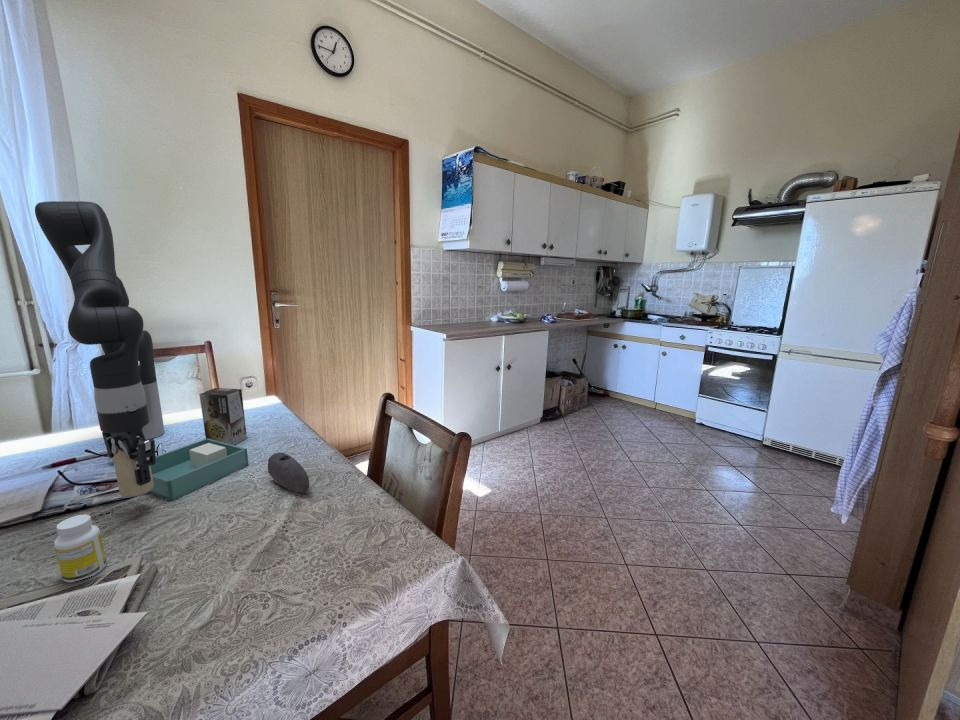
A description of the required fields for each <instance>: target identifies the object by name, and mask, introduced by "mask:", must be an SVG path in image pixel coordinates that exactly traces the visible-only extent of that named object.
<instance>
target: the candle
mask: <svg viewBox="0 0 960 720" xmlns="http://www.w3.org/2000/svg"><path fill="white" fill-rule="evenodd" d="M131 454H132V455H135V454H138V451H137V452H134V453H131ZM112 461H113V464H114V465H113V466H114V470H115V476H116V480H117V485H118V491H119V495H120V497H122V498H134V497H138V496H141V495H145V494H147V493H148V492H149V491H150V490H152V489H153V487H154V483H153V477H152V471H151V466H149V471H150V477H151V481H150V482H149V483H146V484H144V485H141V486H140V485H138V484H137V482H136V476H135V471H134V466H133V464H132V462H131V460H127V458H126V455H125V453H124V452H122V450H120V451H119V452H118V453H117V454H116V455H115V456H114V457H113V460H112ZM137 461H138V457H137Z"/></svg>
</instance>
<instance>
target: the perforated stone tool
mask: <svg viewBox="0 0 960 720" xmlns="http://www.w3.org/2000/svg"><path fill="white" fill-rule="evenodd" d="M267 471H268V474H269V476H270V477H271V478H272V479H273V480H274V481H275V482H276V483H277V484H279V485H280V486H281V487H284V488H285V489H287V490H290V491H292V492H294V491H295V493H299V494H304V493H306V492H307V491H309V488H310V478H309V476H308V473H307V471H306V470H305V469H304V466H302V464H301V463H299V462H298V461H297V460H296V459H295V458H294V457H293V456H291V455H289V454H287V453H284V452H277V453H274V454H272V455H270V457H268V461H267Z"/></svg>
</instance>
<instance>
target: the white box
mask: <svg viewBox="0 0 960 720" xmlns="http://www.w3.org/2000/svg"><path fill="white" fill-rule="evenodd" d="M189 452H190V459H191V466H194V467H197V468H199V467H202V466H204V465H207V464H209V463H211V462H214V461H216V460H219V459H221V458H223V457H226V456H227V451H226V447H222V446H219V445H215V444H211V443H207V444H204V445H201V446H199V447H196V448H193V449H190V450H189Z"/></svg>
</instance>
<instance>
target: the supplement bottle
mask: <svg viewBox="0 0 960 720" xmlns="http://www.w3.org/2000/svg"><path fill="white" fill-rule="evenodd" d="M56 532H57V535H58V537H56V539H55V540H54V542H53V546H54V550H55V551H54V552H55V554H56V558H57V563H58V567H59V571H60V574H61V577H62V580H63V581H64V582H66V583H75V582H74V581H78V580H82V579H85V578H88V577H90V578H92V577H95V576H96V575H97V574H99V573H100V572H101V571H103V569H105V568H106V565H107V557H106V552H105V548H104V543H103V539H102V534H101V531H100V528H99V526H97V525H94V524H93V522H92V516H91V515H89V514H77V515H75V516H71V517H69V518H66V519H64V520H62V521H61V522H59V523H58V524H57V525H56ZM91 576H92V577H91ZM88 579H89V578H88ZM85 580H86V579H85ZM82 581H83V580H82ZM78 582H79V581H78Z"/></svg>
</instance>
